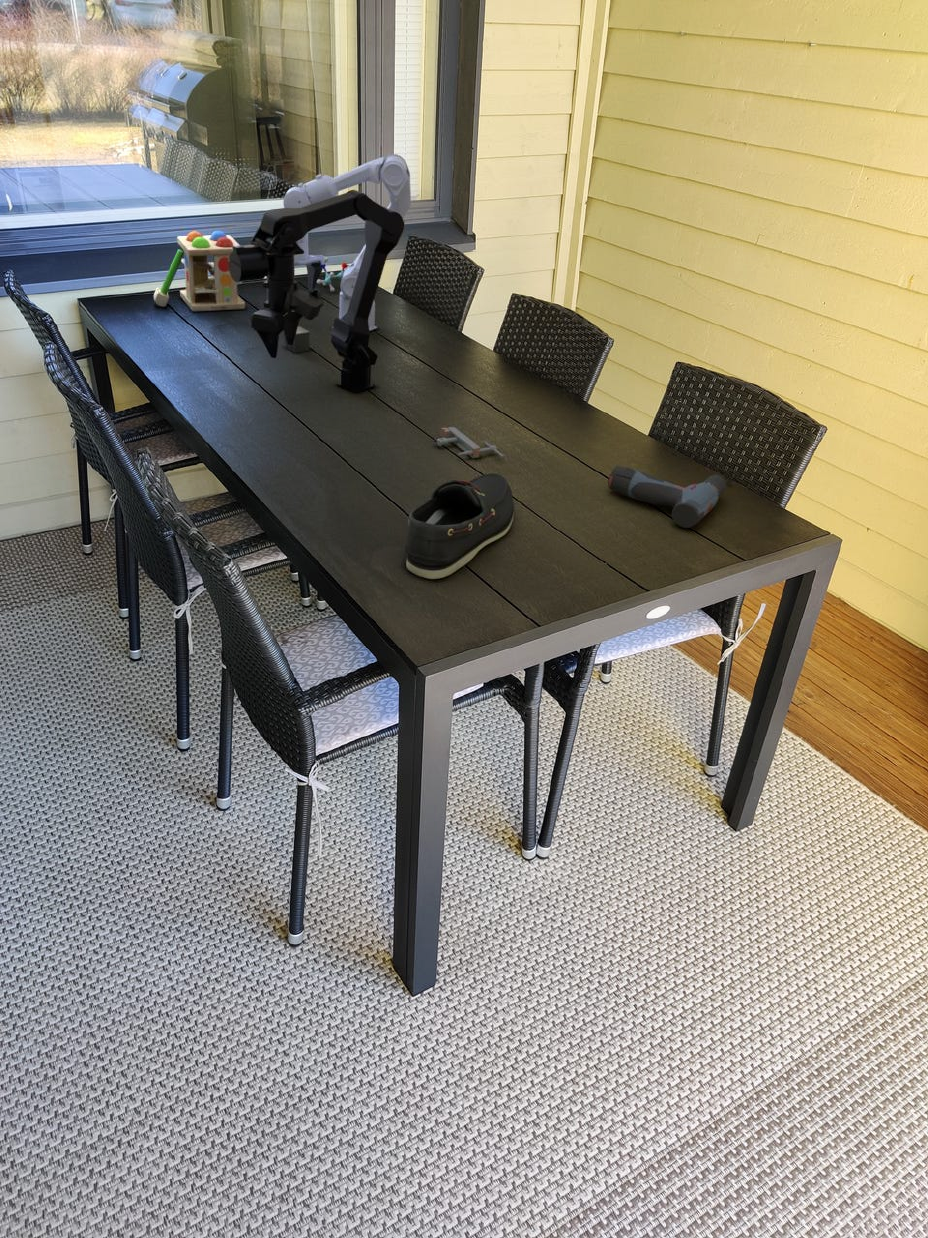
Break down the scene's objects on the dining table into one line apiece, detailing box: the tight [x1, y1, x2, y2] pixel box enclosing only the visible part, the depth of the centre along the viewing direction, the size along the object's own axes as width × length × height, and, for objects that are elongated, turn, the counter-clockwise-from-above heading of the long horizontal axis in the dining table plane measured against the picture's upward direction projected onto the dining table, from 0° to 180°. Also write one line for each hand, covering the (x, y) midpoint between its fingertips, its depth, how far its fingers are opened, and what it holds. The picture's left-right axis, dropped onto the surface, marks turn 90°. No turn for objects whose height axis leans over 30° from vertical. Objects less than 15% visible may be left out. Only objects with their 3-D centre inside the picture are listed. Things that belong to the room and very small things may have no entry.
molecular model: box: [316, 256, 351, 293], centre depth 286 cm, size 12×10×10 cm
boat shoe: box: [403, 472, 515, 580], centre depth 170 cm, size 13×33×10 cm, turn 147°
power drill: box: [607, 465, 727, 529], centre depth 189 cm, size 5×19×20 cm
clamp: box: [436, 426, 507, 460], centre depth 201 cm, size 15×2×10 cm
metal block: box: [284, 325, 310, 354], centre depth 242 cm, size 4×4×5 cm
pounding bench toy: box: [153, 230, 246, 312], centre depth 261 cm, size 23×14×18 cm, turn 116°
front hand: (282, 350), depth 210 cm, fingers open, 9 cm apart
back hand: (297, 294), depth 253 cm, fingers open, 7 cm apart
